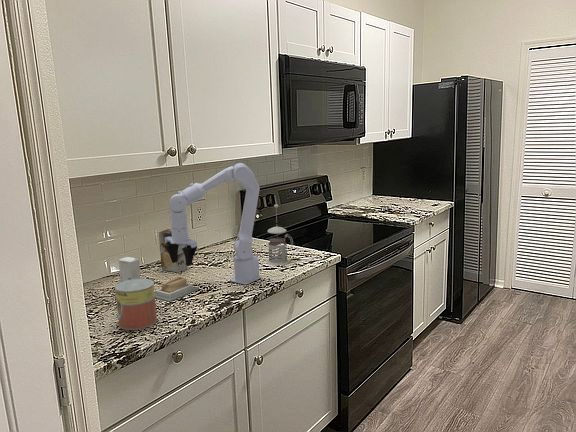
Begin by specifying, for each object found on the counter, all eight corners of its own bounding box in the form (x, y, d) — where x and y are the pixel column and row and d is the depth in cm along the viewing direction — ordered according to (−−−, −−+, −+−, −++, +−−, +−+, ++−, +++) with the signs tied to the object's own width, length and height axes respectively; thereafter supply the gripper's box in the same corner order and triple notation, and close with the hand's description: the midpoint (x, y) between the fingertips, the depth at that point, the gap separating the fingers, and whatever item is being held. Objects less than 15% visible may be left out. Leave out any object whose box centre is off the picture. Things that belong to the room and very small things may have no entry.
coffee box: (188, 268, 195) (185, 230, 192) (178, 272, 189) (175, 234, 186) (171, 265, 199) (168, 228, 196) (160, 270, 194) (157, 232, 190)
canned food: (115, 319, 146) (111, 282, 143) (151, 311, 151) (148, 276, 149) (122, 333, 136) (118, 294, 134) (161, 324, 142) (158, 286, 139)
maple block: (162, 293, 165) (161, 282, 164) (179, 287, 171) (178, 276, 171) (170, 296, 163) (169, 284, 162) (187, 289, 169) (186, 278, 168)
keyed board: (179, 284, 176) (179, 279, 175) (199, 289, 170) (198, 284, 170) (149, 296, 164) (149, 291, 164) (169, 302, 159) (168, 296, 158)
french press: (271, 257, 207) (269, 201, 202) (296, 259, 203) (295, 202, 198) (262, 264, 198) (260, 205, 193) (288, 266, 194) (287, 207, 189)
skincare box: (120, 291, 169) (117, 259, 167) (129, 288, 173) (126, 256, 171) (132, 294, 166) (129, 261, 164) (142, 290, 170) (139, 258, 168)
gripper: (157, 227, 171) (160, 263, 174) (185, 232, 163) (187, 269, 166) (172, 223, 177) (174, 258, 179) (199, 228, 168) (202, 264, 171)
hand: (182, 263), depth 173 cm, fingers open, 7 cm apart
